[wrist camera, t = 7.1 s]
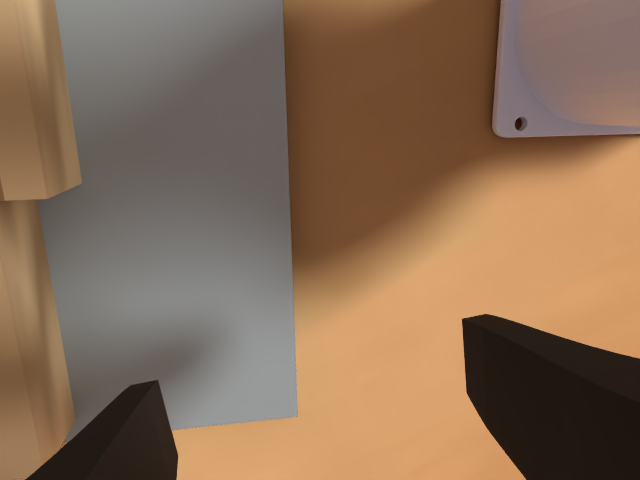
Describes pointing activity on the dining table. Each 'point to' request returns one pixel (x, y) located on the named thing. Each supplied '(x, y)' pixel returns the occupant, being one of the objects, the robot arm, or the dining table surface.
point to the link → (31, 235)
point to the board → (176, 210)
